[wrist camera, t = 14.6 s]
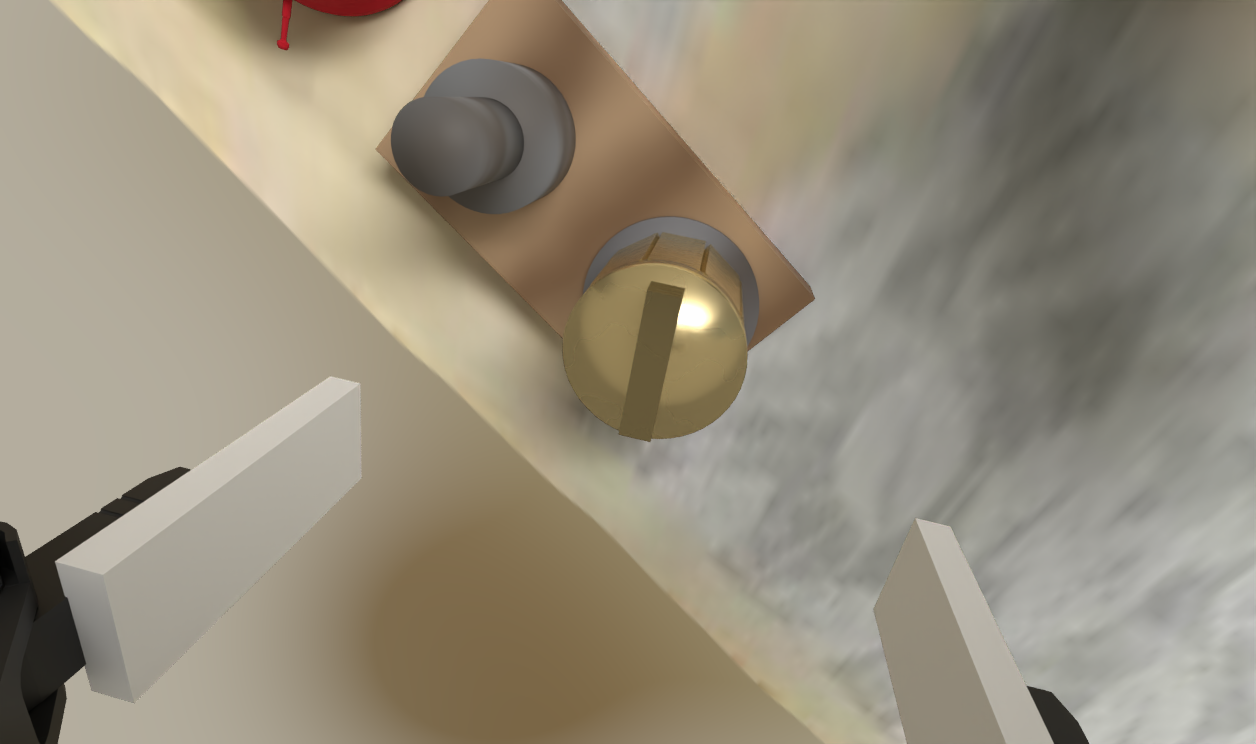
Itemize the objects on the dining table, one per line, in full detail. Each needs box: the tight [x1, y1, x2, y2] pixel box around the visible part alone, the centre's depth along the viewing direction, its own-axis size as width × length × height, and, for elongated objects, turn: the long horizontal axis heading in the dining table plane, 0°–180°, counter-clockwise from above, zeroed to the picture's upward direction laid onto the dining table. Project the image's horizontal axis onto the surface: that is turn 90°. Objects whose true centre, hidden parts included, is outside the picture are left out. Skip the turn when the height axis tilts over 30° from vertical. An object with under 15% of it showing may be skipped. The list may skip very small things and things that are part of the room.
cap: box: [562, 232, 747, 442], centre depth 25 cm, size 7×7×7 cm
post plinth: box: [376, 0, 815, 351], centre depth 25 cm, size 18×10×10 cm, turn 44°
